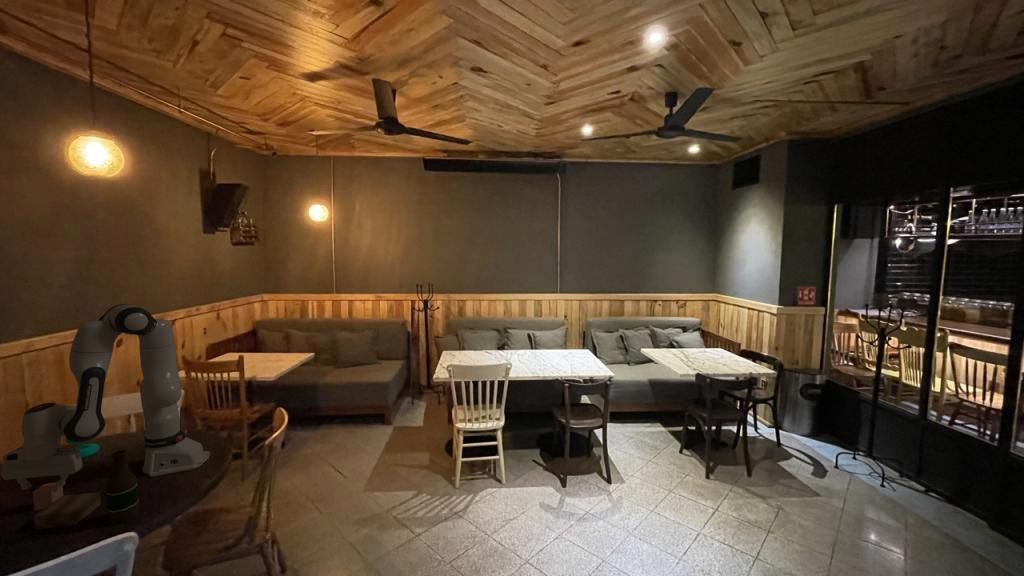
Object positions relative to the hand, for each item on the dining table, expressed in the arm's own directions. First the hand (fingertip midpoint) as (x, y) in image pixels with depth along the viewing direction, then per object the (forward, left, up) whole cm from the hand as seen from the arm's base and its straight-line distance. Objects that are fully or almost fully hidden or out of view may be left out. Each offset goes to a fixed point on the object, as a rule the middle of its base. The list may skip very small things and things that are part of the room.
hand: (44, 487), depth 141 cm
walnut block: (-12, +8, -8) cm, 16 cm away
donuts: (+12, -40, -8) cm, 42 cm away
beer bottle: (-30, +13, -8) cm, 33 cm away
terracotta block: (-1, -1, -7) cm, 7 cm away
